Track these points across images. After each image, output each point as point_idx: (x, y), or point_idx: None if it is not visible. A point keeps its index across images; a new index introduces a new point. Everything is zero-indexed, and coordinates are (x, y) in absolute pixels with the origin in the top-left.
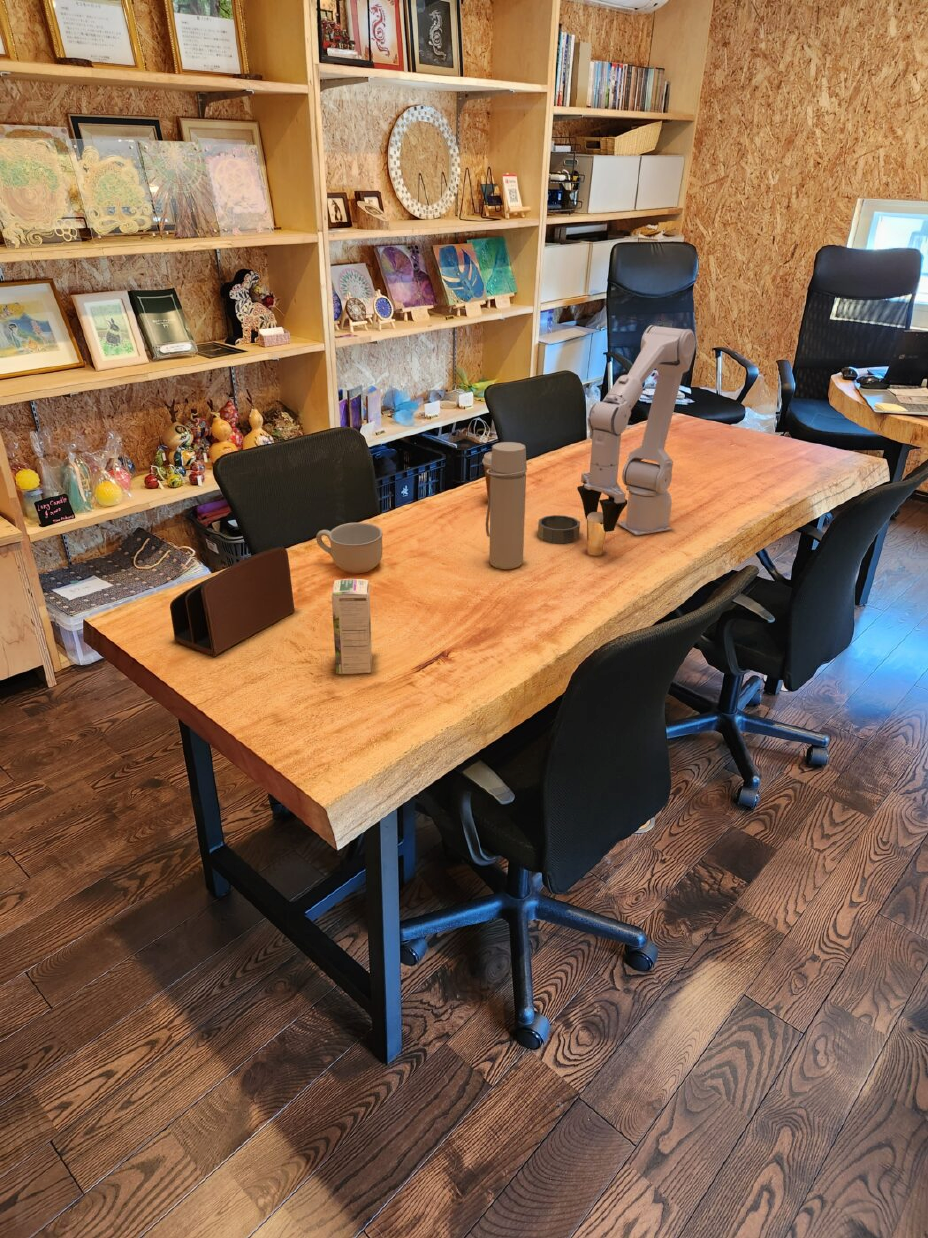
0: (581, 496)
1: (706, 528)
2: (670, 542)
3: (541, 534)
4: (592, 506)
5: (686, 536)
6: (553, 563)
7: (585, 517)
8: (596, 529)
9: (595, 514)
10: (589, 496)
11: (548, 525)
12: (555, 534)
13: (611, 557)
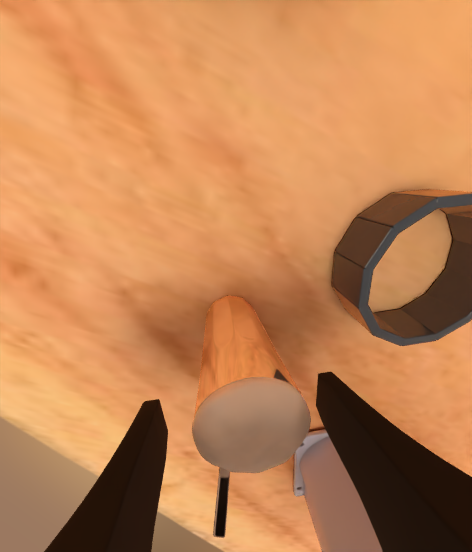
0: (456, 483)
1: (276, 532)
2: (236, 477)
3: (418, 192)
4: (353, 455)
5: (254, 504)
6: (183, 139)
7: (333, 375)
8: (202, 375)
9: (251, 438)
10: (411, 528)
11: (466, 251)
12: (370, 232)
13: (186, 347)
